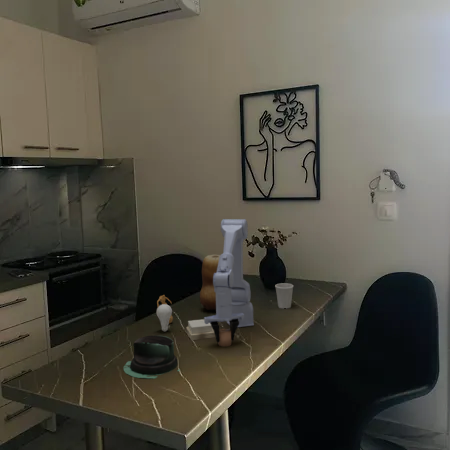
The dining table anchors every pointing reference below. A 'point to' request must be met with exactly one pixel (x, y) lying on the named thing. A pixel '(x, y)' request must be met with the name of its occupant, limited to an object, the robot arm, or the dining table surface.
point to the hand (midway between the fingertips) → (224, 340)
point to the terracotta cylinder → (224, 337)
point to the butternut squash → (209, 282)
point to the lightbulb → (164, 315)
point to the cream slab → (199, 326)
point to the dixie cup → (284, 294)
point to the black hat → (152, 357)
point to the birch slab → (200, 334)
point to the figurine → (162, 299)
